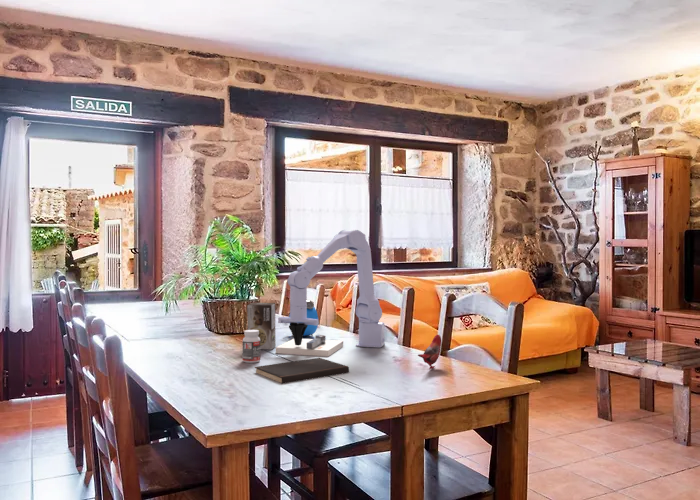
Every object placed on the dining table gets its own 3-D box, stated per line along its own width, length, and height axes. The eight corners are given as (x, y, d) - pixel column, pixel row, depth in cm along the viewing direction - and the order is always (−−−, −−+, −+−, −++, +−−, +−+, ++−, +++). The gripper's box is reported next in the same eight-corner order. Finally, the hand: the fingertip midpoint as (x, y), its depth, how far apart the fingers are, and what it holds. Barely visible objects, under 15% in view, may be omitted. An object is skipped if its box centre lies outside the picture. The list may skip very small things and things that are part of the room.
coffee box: (276, 346, 214) (276, 302, 214) (271, 349, 208) (272, 304, 207) (251, 345, 215) (251, 302, 214) (246, 349, 208) (247, 304, 208)
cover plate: (343, 346, 215) (343, 340, 215) (328, 356, 197) (328, 350, 197) (294, 343, 220) (294, 337, 220) (275, 353, 202) (275, 347, 202)
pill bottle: (256, 363, 185) (256, 332, 185) (239, 362, 186) (239, 331, 186) (262, 359, 191) (262, 329, 190) (246, 359, 192) (246, 329, 192)
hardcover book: (254, 374, 173) (254, 366, 173) (319, 364, 187) (319, 357, 187) (282, 385, 160) (282, 377, 160) (349, 374, 174) (349, 366, 174)
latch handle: (318, 340, 213) (318, 334, 213) (327, 341, 212) (327, 334, 212) (304, 348, 198) (304, 341, 198) (314, 349, 198) (314, 342, 197)
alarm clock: (318, 337, 233) (318, 300, 233) (305, 339, 230) (306, 301, 229) (300, 333, 244) (300, 297, 243) (288, 334, 240) (288, 298, 240)
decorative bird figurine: (444, 365, 184) (445, 333, 184) (422, 376, 169) (422, 342, 169) (436, 364, 186) (436, 333, 186) (413, 375, 171) (413, 341, 170)
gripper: (274, 306, 201) (274, 345, 201) (313, 308, 196) (312, 348, 196) (283, 303, 208) (283, 341, 208) (321, 305, 203) (320, 344, 203)
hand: (298, 344), depth 203 cm, fingers closed
